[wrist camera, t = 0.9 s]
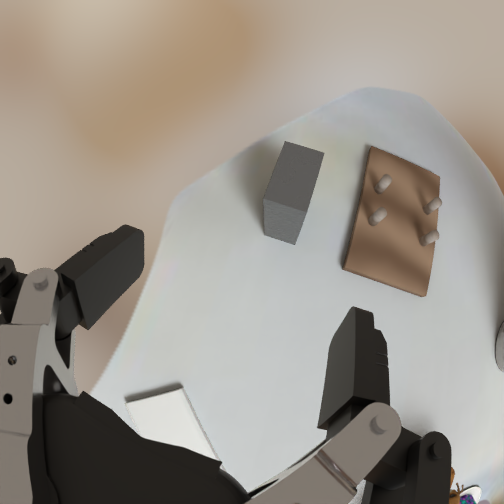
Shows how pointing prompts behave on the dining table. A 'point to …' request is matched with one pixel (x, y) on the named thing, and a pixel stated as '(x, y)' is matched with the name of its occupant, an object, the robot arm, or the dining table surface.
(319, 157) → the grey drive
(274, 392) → the dining table surface
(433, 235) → the wooden peg stand
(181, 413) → the external hard drive
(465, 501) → the pudding
